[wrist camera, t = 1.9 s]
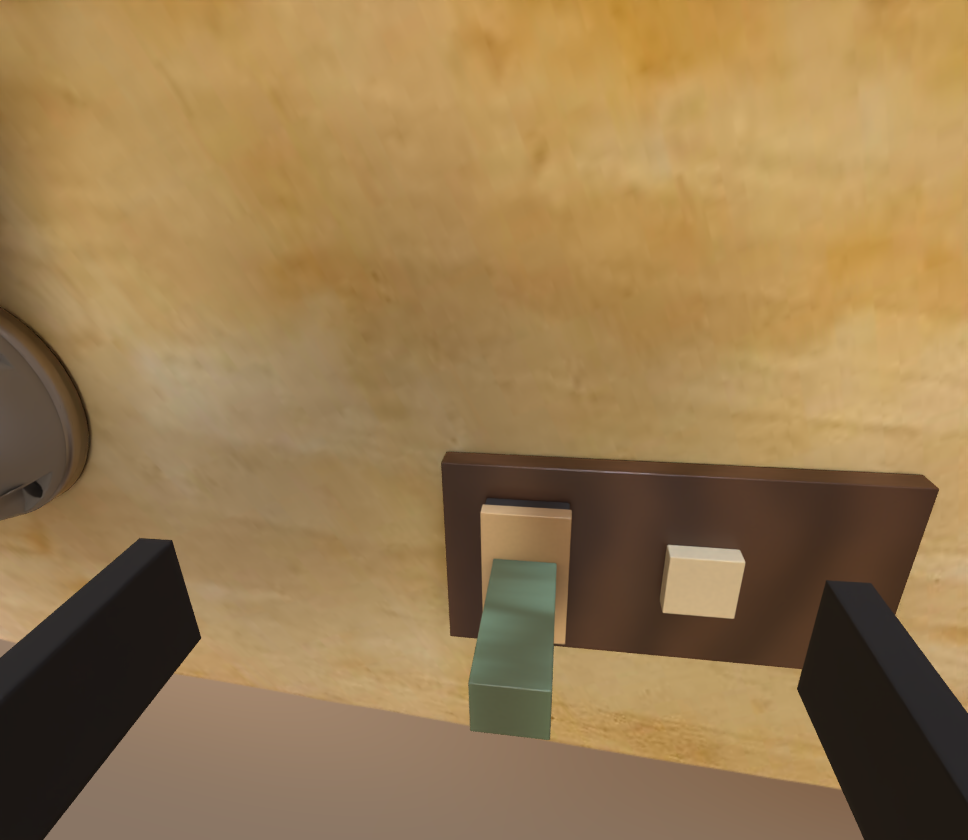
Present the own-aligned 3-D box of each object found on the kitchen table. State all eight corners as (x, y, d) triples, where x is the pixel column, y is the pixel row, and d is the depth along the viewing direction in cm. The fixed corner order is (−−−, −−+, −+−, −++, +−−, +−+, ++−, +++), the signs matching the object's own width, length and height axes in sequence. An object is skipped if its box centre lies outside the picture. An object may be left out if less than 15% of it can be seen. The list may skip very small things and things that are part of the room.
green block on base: (487, 616, 36) (457, 773, 27) (484, 495, 33) (449, 628, 23) (565, 623, 36) (563, 787, 26) (571, 500, 32) (572, 639, 23)
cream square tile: (659, 599, 34) (662, 613, 33) (666, 544, 32) (670, 557, 31) (728, 604, 33) (734, 619, 32) (740, 549, 32) (746, 562, 31)
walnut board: (454, 620, 39) (450, 636, 37) (446, 451, 34) (441, 463, 32) (862, 656, 35) (874, 676, 34) (923, 474, 30) (940, 489, 29)
